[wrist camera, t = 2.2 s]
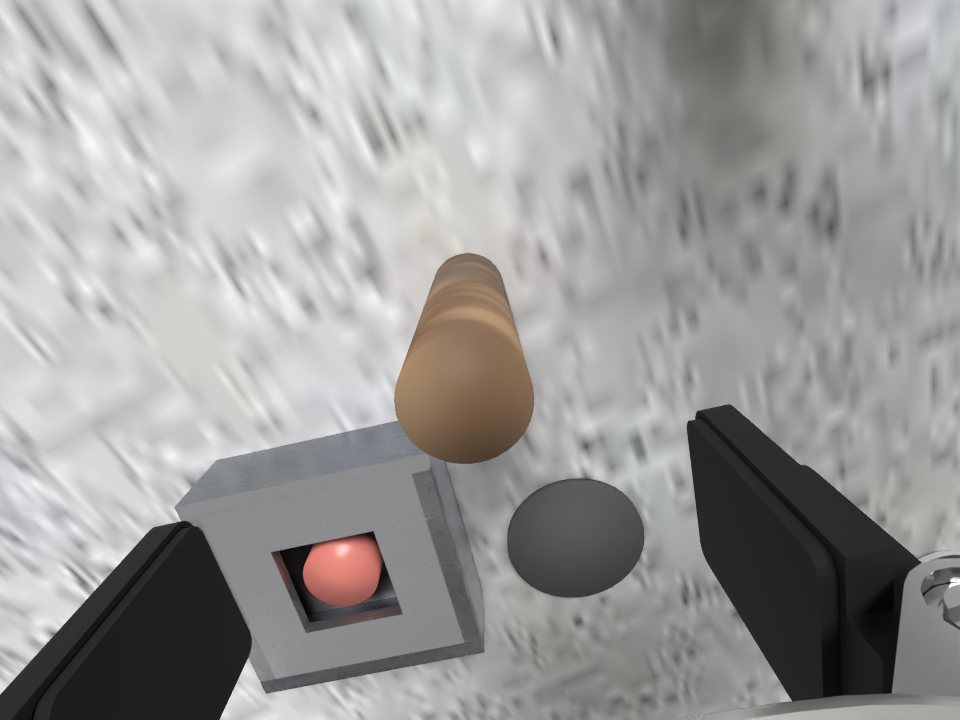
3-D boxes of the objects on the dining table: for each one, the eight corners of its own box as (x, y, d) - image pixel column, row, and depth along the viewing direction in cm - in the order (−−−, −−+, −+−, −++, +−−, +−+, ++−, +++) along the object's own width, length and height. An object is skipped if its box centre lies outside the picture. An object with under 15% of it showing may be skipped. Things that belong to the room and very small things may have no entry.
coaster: (631, 465, 34) (634, 470, 34) (649, 577, 37) (652, 583, 37) (494, 494, 35) (494, 499, 34) (522, 601, 38) (523, 608, 37)
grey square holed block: (431, 413, 33) (424, 453, 28) (482, 591, 38) (484, 652, 33) (216, 460, 34) (174, 507, 29) (291, 629, 38) (266, 693, 34)
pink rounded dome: (373, 513, 33) (365, 538, 31) (393, 570, 34) (387, 598, 32) (304, 527, 33) (292, 553, 31) (327, 583, 35) (317, 612, 32)
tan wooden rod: (495, 246, 30) (518, 321, 15) (510, 314, 31) (546, 448, 16) (425, 262, 30) (377, 352, 15) (442, 329, 31) (415, 476, 16)
